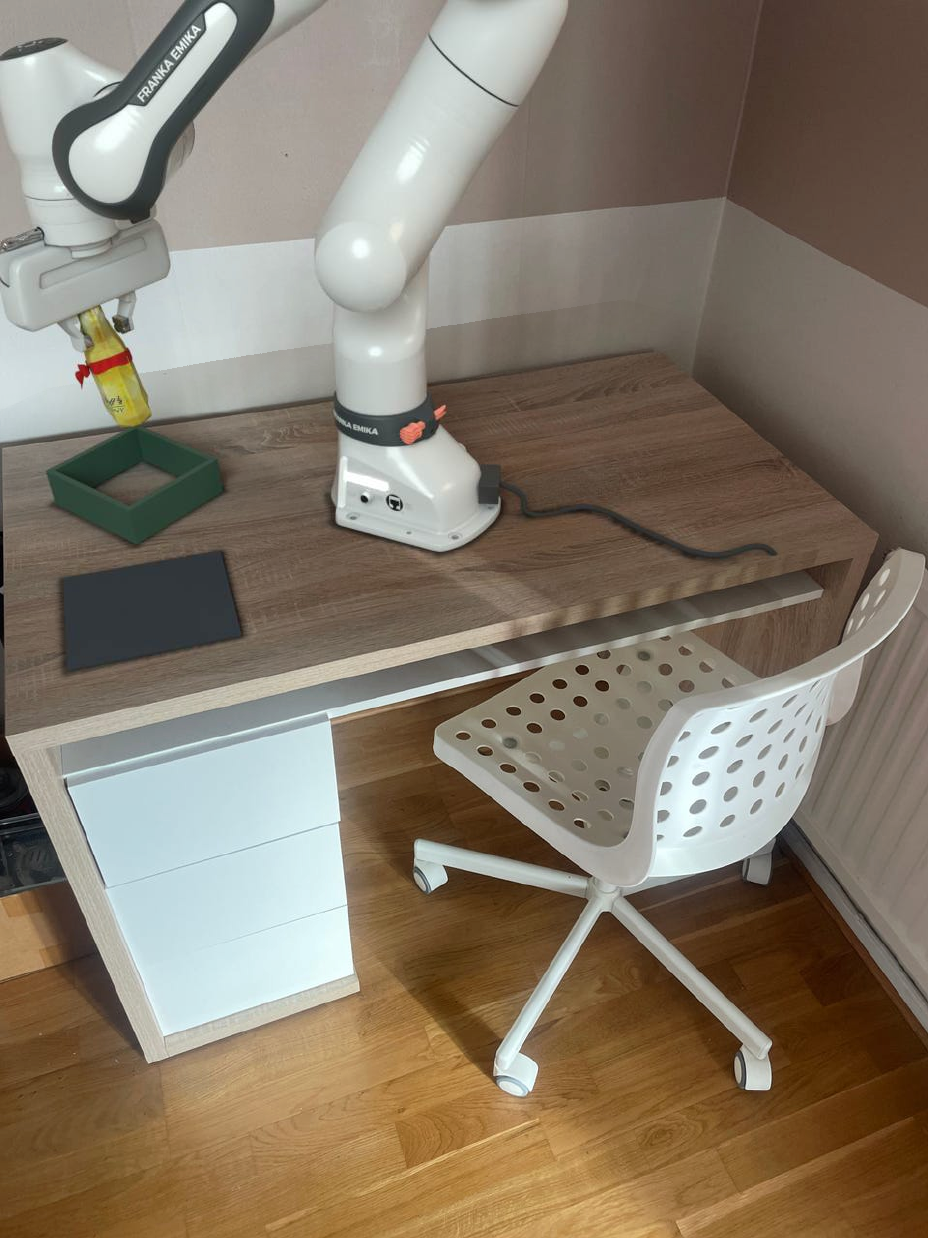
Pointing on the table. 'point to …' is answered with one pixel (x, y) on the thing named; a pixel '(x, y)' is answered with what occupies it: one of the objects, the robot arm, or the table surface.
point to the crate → (151, 511)
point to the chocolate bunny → (112, 371)
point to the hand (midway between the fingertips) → (105, 339)
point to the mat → (147, 609)
